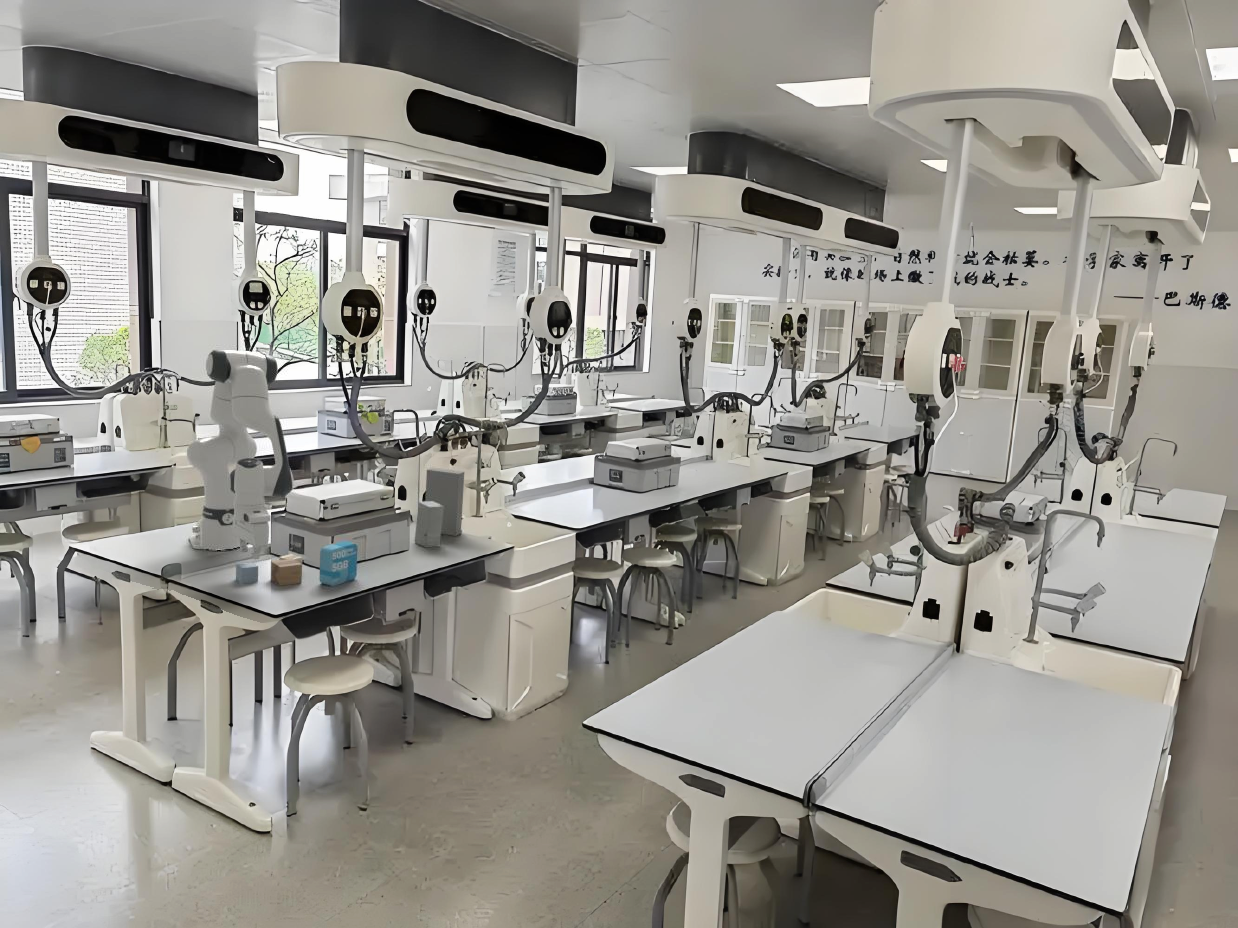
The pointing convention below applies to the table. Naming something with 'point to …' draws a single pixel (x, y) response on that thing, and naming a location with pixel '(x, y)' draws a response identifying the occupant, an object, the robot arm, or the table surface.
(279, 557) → the sand block
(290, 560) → the cardboard box
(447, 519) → the tall grey upright box
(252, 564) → the slate-blue block
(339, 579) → the data package
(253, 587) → the table surface
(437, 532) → the skincare box
